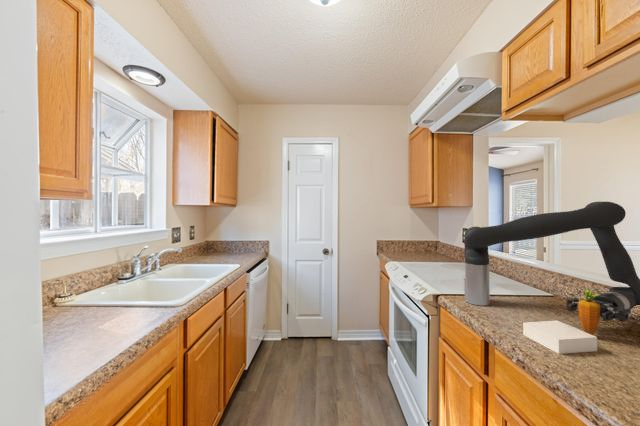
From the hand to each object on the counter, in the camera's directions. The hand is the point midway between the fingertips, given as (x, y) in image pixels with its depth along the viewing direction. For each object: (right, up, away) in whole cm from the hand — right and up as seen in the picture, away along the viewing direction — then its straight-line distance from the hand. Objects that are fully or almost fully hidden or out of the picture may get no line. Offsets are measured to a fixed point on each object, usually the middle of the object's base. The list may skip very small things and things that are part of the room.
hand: (586, 312), depth 86 cm
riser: (-11, -8, -2) cm, 14 cm away
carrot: (+2, -8, +1) cm, 8 cm away
